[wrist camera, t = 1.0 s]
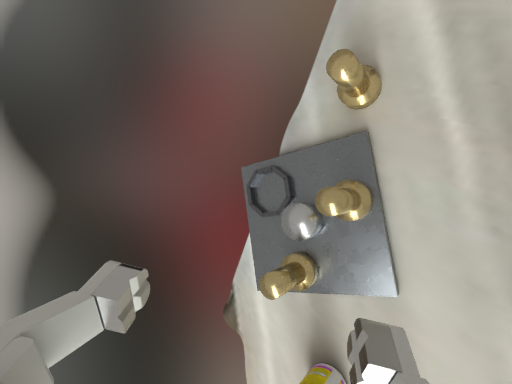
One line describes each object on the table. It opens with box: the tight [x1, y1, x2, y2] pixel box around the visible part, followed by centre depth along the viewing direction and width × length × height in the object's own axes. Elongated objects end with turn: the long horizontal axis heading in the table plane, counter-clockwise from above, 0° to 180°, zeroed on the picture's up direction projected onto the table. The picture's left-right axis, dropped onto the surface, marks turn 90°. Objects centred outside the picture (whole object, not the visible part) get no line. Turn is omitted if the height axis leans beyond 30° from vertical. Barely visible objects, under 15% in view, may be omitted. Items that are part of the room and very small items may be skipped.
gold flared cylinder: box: [326, 49, 381, 109], centre depth 37 cm, size 6×6×10 cm
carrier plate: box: [241, 131, 399, 300], centre depth 41 cm, size 24×24×12 cm
